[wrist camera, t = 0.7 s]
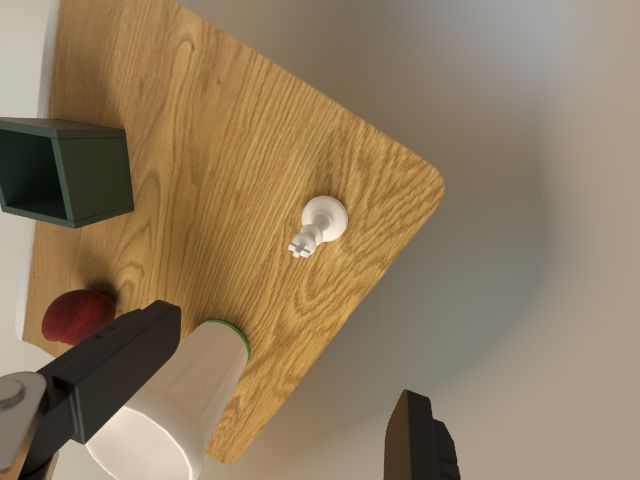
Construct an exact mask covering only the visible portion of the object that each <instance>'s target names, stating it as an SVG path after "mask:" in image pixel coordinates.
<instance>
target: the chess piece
mask: <svg viewBox="0 0 640 480" xmlns="http://www.w3.org/2000/svg"><path fill="white" fill-rule="evenodd" d="M347 223H348V216H347V212H346V209H345V207H344V206H343V205H342V204H341V202H339V201H338V200H337V199H335V198H333V197H330V196H318V197H315V198H313V199H311V200H310V201H309V202H308V203H307V204H306V206H305V208H304V210H303V212H302V224H303V227H302V229H301V230H300V233H299V234H297V235H296V236H295V237H294V238H293V240H292V242H291V243H290V245H289V247H288V249H289V250H291V251H293V252H294V253H293V256H295V257H297V258H298V257H299V256H300V255H301V256H304V257H306V258H308V257H309V255H311V254H312V253H313V252H314V251H315V248H316V246H317V245H319V244H320V243H321V242H322V241H324V242H327V241H332V240H335V239H336V238H338V237H339V236H340V235H342V234H343V232H344V231H345V229H346V227H347Z"/></svg>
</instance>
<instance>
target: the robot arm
mask: <svg viewBox="0 0 640 480" xmlns="http://www.w3.org/2000/svg"><path fill="white" fill-rule="evenodd" d="M180 330H181V308H180V307H179V306H176V305H173V304H170V303H168V302H165V301H162V300H157V301H155V302H153V303H152V304H150V305H149V306H148V307H146V308H145V309H143V310H141V309H136V310H134V311H131V312H128V313H126V314H123V315H120V316H119V317H118V318H116V319H115V320H113V321H112V322H110V323H109V324H107V325H106V327H105V328H104V327H103V328H101V329H100V330H98V331H97V332H95V333H94V334H93V336H89V337H88V338H86V339H85V340H83V341H82V342H80V343H79V344H77V345H76V346H74V347H73V348H71V349H70V350H68V351H67V352H65V353H64V354H62V355H61V356H59V357H58V358H56V359H55V360H53V361H52V362H50V363H49V364H47V365H46V366H44V367H43V368H41V369H40V370H38V371H36V372H17V373H12V374H8V375H5V376H2V377H0V480H51V478H52V475H53V472H54V469H55V466H56V463H57V460H58V456H59V449H60V448H61V447H62V446H63V445H64V444H65V443H66V442H67V441H68V440H69V439H72V440H74V441H76V442H79V443H81V444H83V445H85V444H86V443H87V442H88V441H89V440H90V439H91V438H92V437H93V436H94V435H95V434H96V433H97V432H98V431H99V430H100V429H101V428H102V427H103V426H104V425H105V424H106V423H107V422H108V421H109V420H110V419H111V418H112V417H113V416H114V415H115V414H116V413H117V412H118V411H119V410H120V409H121V408H122V407H123V406H124V404H125V403H126V402H127V401H128V400H129V399H130V398H131V397H132V396H133V395H134V394H135V393H136V392H137V391H138V390H139V389H140V388H141V387H142V386H143V385H144V384H145V383H146V382H147V381H148V380H149V379H150V378H151V377H152V376H153V375H154V374H155V373H156V372H157V371H158V370H159V369H160V368H161V367H162V366H163V365H164V364H165V363H166V362H167V361H168V360H169V359H170V358H171V357H172V356H173V355H174V353H175V352H176V350H177V348H178V345H179V342H180ZM460 479H461V478H460V473H459V467H458V466H457V457H456V451H455V446H454V441H453V440H452V438H451V436H450V434H449V432H448V430H447V428H446V426H445V424H444V423H443V422H441V421H438V420H435V419H433V416H432V409H431V403H430V399H429V398H428V397H425V396H423V395H420V394H417V393H414V392H412V391H409V390H406V389H404V390H403V392H402V394H401V396H400V398H399V400H398V402H397V405H396V407H395V409H394V411H393V413H392V415H391V418H390V420H389V423H388V426H387V430H386V436H385V453H384V480H460Z"/></svg>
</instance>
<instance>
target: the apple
mask: <svg viewBox="0 0 640 480" xmlns="http://www.w3.org/2000/svg"><path fill="white" fill-rule="evenodd" d="M104 293H105V292H100V293H99V292H96V291H92V290H75V291H70V292H67V293H64V294H63V295H61V296H59V297H58V298H57V299H55V300H54V301H53V302H52V304H51V305H50V306H49V307H48V309H47V311H46V313H45V315H44V318H43V322H42V334H43V336H44V337H45V338H46V339H47V340H49V341H60V342H62V343H67V344H69V345H73V346H76V345H77V344H79V343H80V342H82V341H83V340H85V339H86V338H88V337H89V336H93V334H94V333H95V332H97V331H98V330H100V329H101V328H103V327H104V328H105V327H106V325H107V324H109V323H110V322H112V321H113V320H114V318H115V314H116V307H115V304H114V302H113V301H112V300H111V299H110V298H109V297H108V296H106V295H104Z"/></svg>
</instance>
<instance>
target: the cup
mask: <svg viewBox="0 0 640 480" xmlns="http://www.w3.org/2000/svg"><path fill="white" fill-rule="evenodd" d="M249 352H250V350H249V346H248V342H247V340H246V338H245V337H244V336H243V334H242V333H241V332H240V331H239V330H238V329H237V328H235V327H234V326H233V325H231V324H230V323H227V322H224V321H221V320H207V321H205V322H203V323H201V324H200V325H199V326H198V327H197V328H196V329H195V330H194V331H193V332H192V333H190V334H189V335H188V336H187V337H185V338H184V339H183V340H181V341H180V342H179V345H178V348H177V350H176V352H175V353H174V355H173V356H172V357H171V358H170V359H169V360H168V361H167V362H166V363H165V364H164V365H163V366H162V367H161V368H160V369H159V370H158V371H157V372H156V373H155V374H154V375H153V376H152V377H151V378H150V379H149V380H148V381H147V382H146V383H145V384H144V385H143V386H142V387H141V388H140V389H139V390H138V391H137V392H136V393H135V394H134V395H133V396H132V397H131V398H130V399H129V400H128V401H127V402H126V403H125V404H124V406H123V407H122V408H121V409H120V410H119V411H118V412H117V413H116V414H115V415H114V416H113V417H112V418H111V419H110V420H109V421H108V422H107V423H106V424H105V425H104V426H103V427H102V428H101V429H100V430H99V431H98V432H97V433H96V434H95V435H94V436H93V437H92V438H91V439H90V440H89V441H88V442H87V443H86V444H85V445H86V447H87V449H88V450H89V452H90V454H91V456H92V457H93V458H94V459H95V460H96V461H97V462H98V463H99V464H100V465H101V466H102V467H103V469H104V470H106V471H107V472H108V473H109V474H110V475H111V476H113V477H114V478H116V479H117V480H196V479H197V478H198V476H199V474H200V472H201V470H202V468H203V458H204V451H205V449H206V447H207V445H208V443H209V441H210V439H211V437H212V435H213V432H214V430H215V428H216V426H217V424H218V422H219V420H220V418H221V416H222V414H223V411H224V409H225V407H226V405H227V403H228V401H229V399H230V397H231V395H232V393H233V390H234V388H235V386H236V384H237V382H238V380H239V378H240V376H241V374H242V372H243V369H244V367H245V365H246V363H247V361H248V360H249Z"/></svg>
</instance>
